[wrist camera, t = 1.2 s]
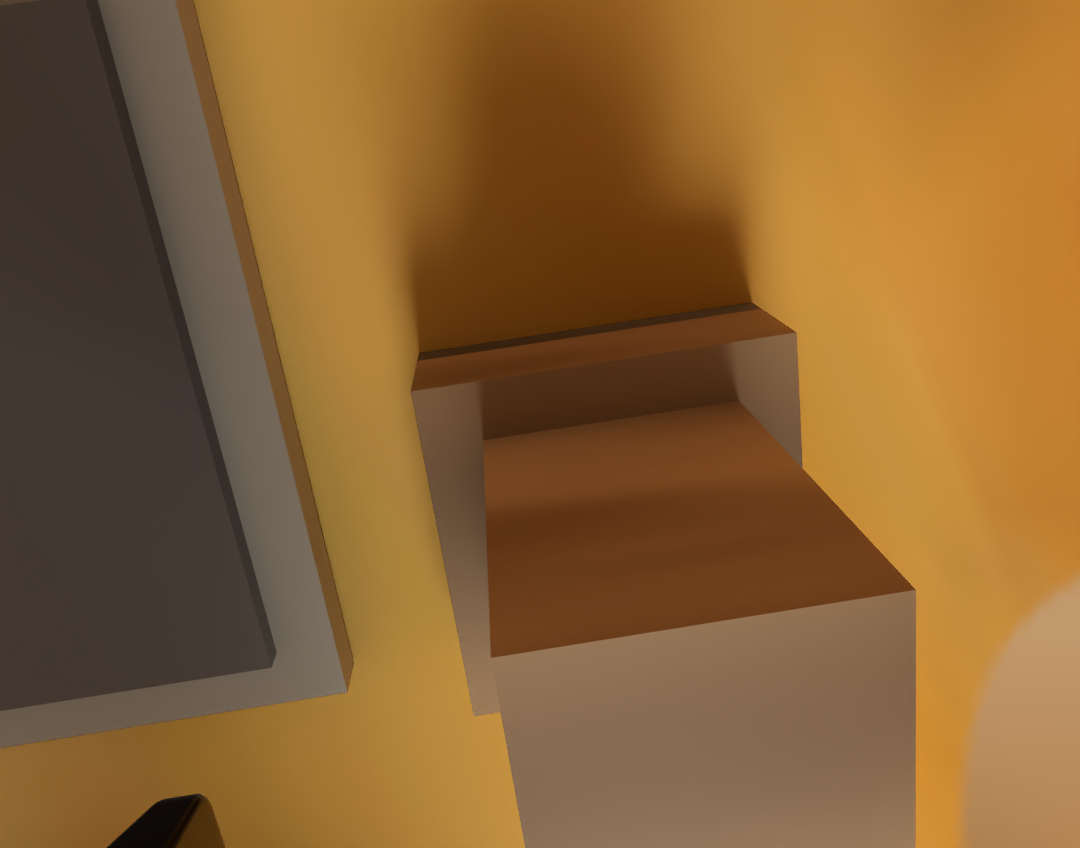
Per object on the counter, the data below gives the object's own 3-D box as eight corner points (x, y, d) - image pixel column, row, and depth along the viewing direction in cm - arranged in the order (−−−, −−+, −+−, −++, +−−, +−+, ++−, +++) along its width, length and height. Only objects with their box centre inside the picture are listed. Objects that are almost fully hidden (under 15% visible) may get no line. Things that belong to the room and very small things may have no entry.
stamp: (769, 594, 15) (998, 964, 9) (473, 640, 15) (475, 1052, 8) (751, 302, 14) (1018, 482, 7) (419, 352, 13) (368, 584, 7)
